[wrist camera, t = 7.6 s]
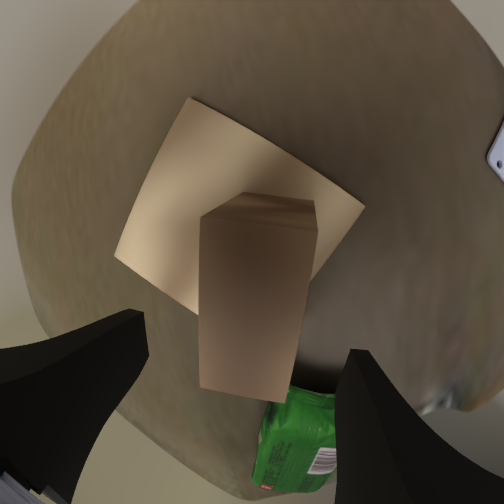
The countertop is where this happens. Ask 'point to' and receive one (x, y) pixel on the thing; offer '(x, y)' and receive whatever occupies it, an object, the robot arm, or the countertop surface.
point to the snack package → (296, 443)
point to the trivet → (217, 197)
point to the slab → (253, 292)
